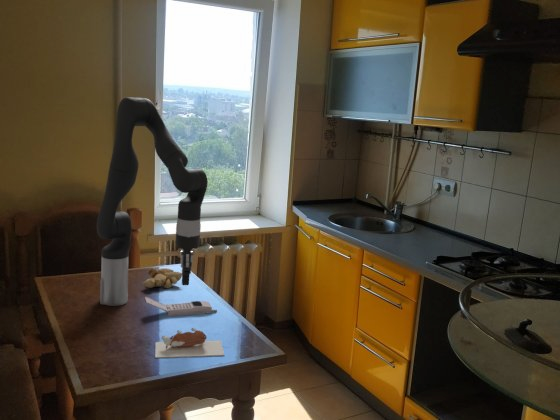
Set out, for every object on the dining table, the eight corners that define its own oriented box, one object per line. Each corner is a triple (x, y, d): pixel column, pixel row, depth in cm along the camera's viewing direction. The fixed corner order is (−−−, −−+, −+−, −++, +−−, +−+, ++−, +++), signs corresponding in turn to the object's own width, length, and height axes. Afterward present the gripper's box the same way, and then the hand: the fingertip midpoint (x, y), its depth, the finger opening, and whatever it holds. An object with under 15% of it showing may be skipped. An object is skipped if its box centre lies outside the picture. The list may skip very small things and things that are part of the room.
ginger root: (180, 274, 227) (180, 258, 224) (183, 295, 213) (183, 278, 210) (141, 276, 223) (141, 259, 220) (142, 298, 209) (142, 280, 206)
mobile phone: (144, 296, 187) (214, 292, 196) (143, 312, 188) (213, 307, 197) (146, 302, 182) (218, 298, 190) (145, 319, 183) (217, 313, 191)
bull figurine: (161, 327, 166) (160, 337, 158) (205, 326, 168) (206, 335, 160) (161, 341, 166) (160, 351, 158) (205, 339, 169) (206, 349, 161)
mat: (155, 358, 155) (155, 357, 155) (155, 343, 164) (155, 342, 164) (224, 355, 159) (224, 354, 159) (220, 341, 169) (220, 340, 169)
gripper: (175, 226, 174) (173, 277, 178) (176, 237, 161) (173, 291, 165) (198, 227, 176) (195, 277, 179) (201, 238, 163) (198, 292, 167)
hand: (185, 284), depth 172 cm, fingers closed
